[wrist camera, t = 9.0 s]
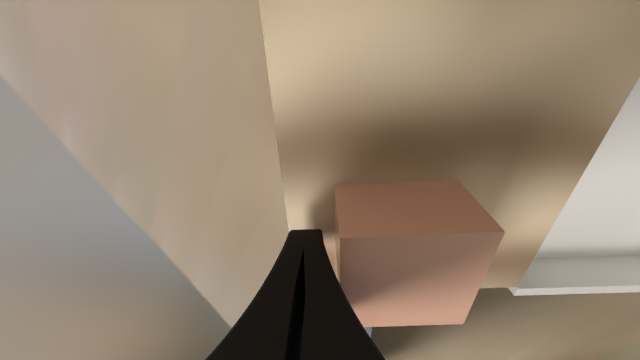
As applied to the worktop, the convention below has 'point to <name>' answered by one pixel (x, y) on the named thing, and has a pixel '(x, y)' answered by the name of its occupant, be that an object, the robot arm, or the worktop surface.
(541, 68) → the board
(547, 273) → the tray
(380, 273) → the salmon pink block
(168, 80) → the worktop surface
